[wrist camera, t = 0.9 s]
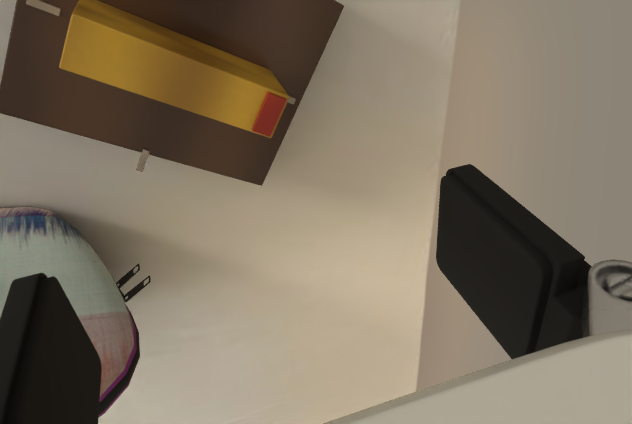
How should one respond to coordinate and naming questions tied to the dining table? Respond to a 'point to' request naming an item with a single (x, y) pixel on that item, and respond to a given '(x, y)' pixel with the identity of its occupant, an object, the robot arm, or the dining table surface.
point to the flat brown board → (154, 116)
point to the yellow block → (171, 68)
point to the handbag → (74, 288)
